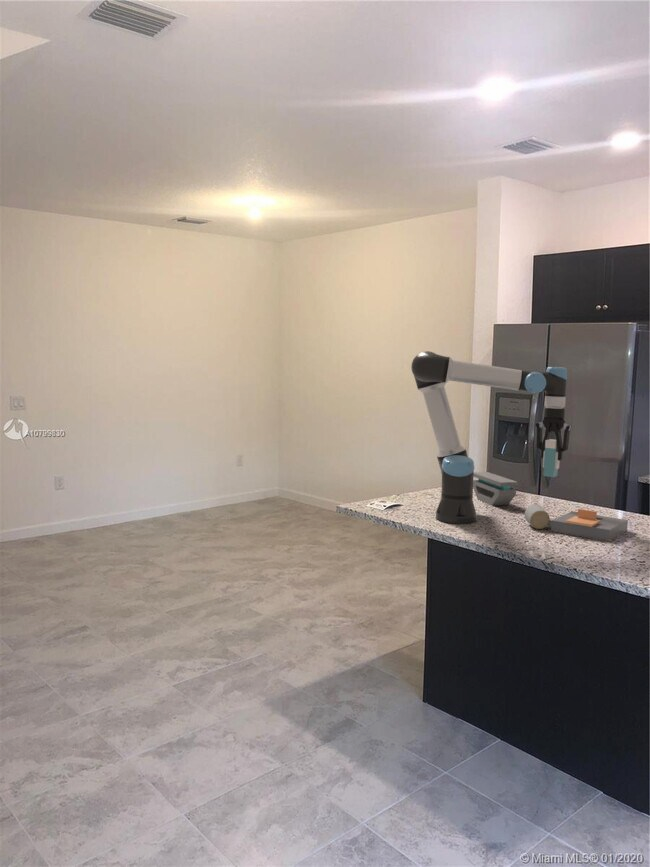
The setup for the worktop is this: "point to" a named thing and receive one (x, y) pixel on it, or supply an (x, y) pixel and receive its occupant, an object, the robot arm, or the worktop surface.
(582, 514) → the terracotta shutter
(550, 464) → the teal plug
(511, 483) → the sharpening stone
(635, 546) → the worktop surface
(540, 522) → the ceramic mug
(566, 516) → the socket block
